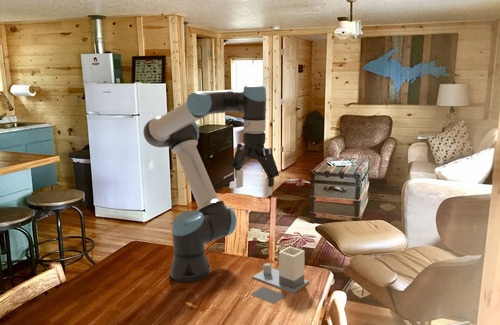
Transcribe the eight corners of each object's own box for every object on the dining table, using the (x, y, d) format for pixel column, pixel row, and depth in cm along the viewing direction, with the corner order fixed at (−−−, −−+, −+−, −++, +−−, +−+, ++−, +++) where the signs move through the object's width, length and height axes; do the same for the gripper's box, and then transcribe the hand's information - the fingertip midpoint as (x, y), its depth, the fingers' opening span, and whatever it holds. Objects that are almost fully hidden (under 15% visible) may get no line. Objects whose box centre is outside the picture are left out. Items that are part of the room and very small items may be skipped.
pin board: (252, 279, 153) (252, 267, 153) (269, 269, 161) (269, 258, 160) (293, 295, 142) (293, 282, 141) (308, 283, 149) (309, 271, 148)
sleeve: (279, 283, 148) (279, 251, 145) (289, 276, 152) (289, 246, 150) (294, 289, 144) (294, 256, 141) (304, 282, 148) (304, 250, 146)
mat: (250, 295, 142) (250, 294, 142) (263, 287, 147) (263, 286, 147) (273, 305, 136) (273, 304, 135) (286, 297, 141) (286, 295, 141)
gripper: (220, 128, 147) (221, 186, 152) (276, 137, 131) (275, 201, 136) (235, 126, 152) (235, 182, 157) (290, 134, 136) (288, 196, 141)
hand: (253, 191), depth 146 cm, fingers open, 13 cm apart
